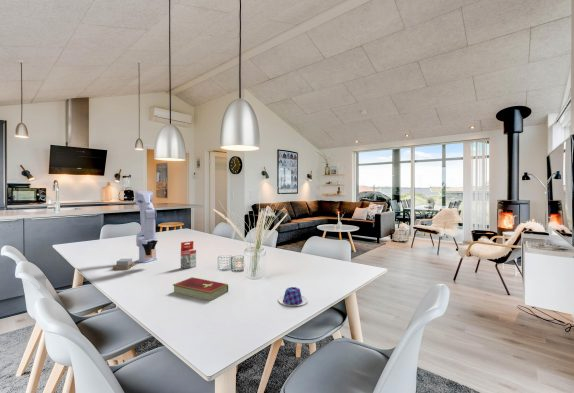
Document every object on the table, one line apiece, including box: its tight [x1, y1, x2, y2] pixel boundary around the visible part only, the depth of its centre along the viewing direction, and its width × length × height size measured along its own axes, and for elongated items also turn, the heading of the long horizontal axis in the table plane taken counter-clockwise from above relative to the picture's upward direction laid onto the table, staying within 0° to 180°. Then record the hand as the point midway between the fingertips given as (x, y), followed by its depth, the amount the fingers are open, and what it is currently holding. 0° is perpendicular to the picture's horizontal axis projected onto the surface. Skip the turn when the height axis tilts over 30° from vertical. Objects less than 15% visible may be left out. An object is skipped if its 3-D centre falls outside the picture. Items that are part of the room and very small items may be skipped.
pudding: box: [277, 286, 308, 307], centre depth 116 cm, size 12×12×5 cm
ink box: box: [180, 240, 197, 270], centre depth 163 cm, size 4×8×15 cm, turn 134°
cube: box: [145, 249, 155, 258], centre depth 161 cm, size 4×4×4 cm
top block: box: [115, 258, 133, 266], centre depth 161 cm, size 6×6×2 cm
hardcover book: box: [172, 277, 229, 301], centre depth 125 cm, size 12×21×4 cm, turn 65°
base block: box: [112, 262, 136, 271], centre depth 161 cm, size 8×8×2 cm
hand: (149, 254), depth 161 cm, fingers closed on cube, 4 cm apart
